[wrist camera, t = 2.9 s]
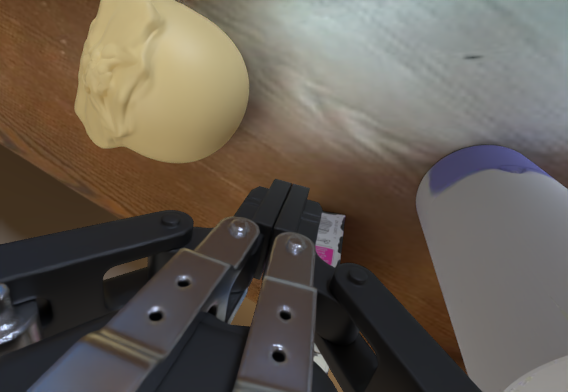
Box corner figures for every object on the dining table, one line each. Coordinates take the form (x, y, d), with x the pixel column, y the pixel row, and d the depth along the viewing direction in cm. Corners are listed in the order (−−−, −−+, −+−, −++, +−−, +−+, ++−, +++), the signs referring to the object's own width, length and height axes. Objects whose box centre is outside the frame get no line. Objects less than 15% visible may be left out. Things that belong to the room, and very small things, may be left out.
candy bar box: (297, 205, 33) (249, 336, 19) (346, 213, 33) (335, 355, 18) (289, 287, 39) (247, 439, 24) (331, 296, 38) (313, 457, 23)
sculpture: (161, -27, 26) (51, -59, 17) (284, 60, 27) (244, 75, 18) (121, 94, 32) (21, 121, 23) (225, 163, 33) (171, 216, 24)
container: (410, 240, 33) (467, 483, 15) (422, 144, 28) (523, 328, 11) (523, 247, 30) (742, 539, 13) (555, 144, 26) (952, 374, 9)
